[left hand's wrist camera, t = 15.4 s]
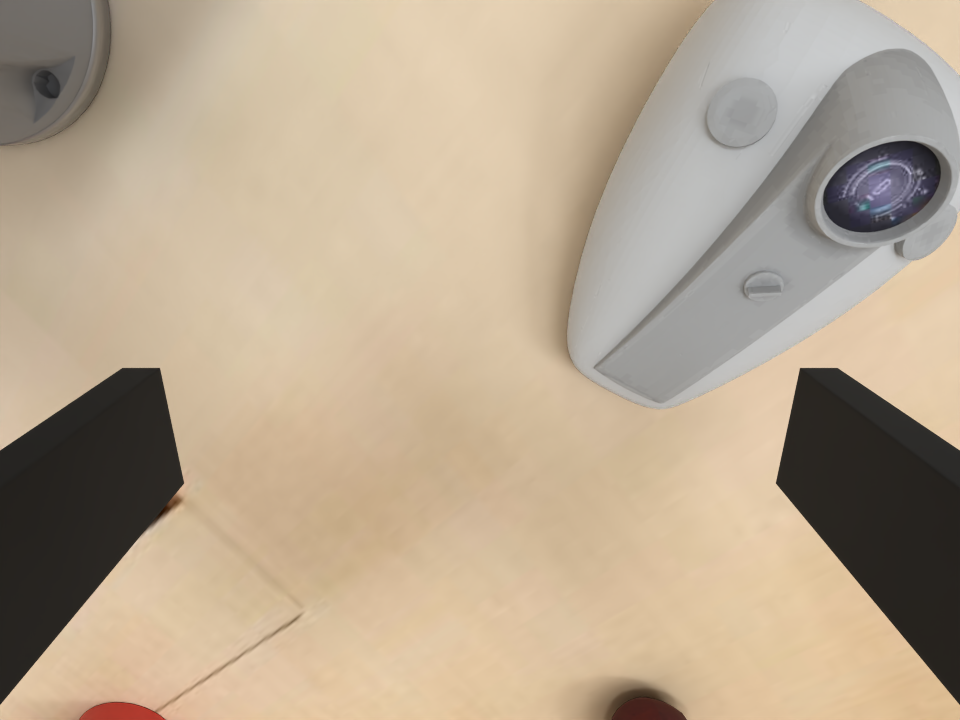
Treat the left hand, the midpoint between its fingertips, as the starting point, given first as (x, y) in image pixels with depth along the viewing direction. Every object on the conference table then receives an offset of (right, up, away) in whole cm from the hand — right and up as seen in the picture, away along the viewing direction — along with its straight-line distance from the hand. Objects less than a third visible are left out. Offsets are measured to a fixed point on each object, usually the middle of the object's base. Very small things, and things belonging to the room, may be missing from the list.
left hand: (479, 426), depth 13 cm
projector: (+14, +10, +25) cm, 30 cm away
